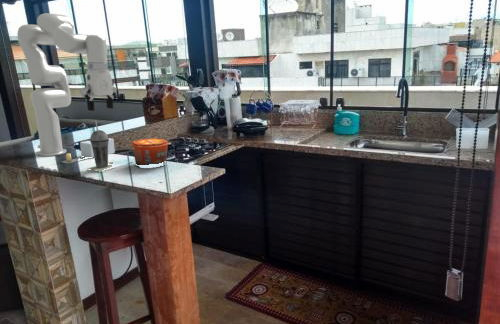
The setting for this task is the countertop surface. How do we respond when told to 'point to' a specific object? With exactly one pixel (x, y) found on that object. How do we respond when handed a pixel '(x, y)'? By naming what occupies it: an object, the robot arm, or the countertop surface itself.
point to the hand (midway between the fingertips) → (100, 109)
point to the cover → (88, 150)
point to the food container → (150, 151)
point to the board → (101, 168)
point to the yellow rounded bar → (69, 160)
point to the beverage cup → (100, 147)
